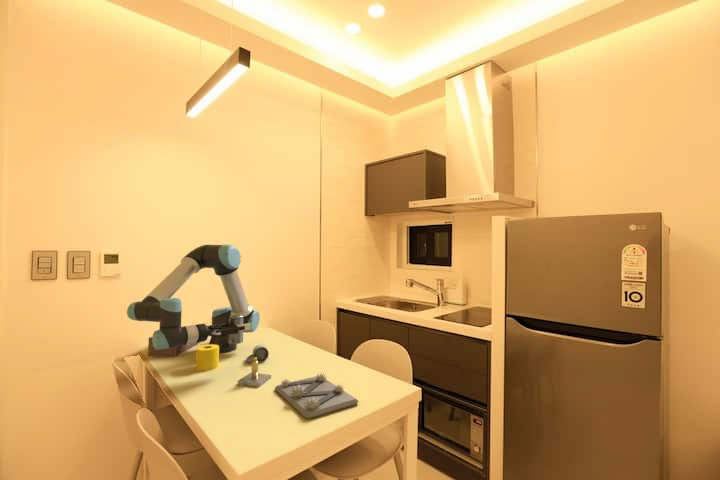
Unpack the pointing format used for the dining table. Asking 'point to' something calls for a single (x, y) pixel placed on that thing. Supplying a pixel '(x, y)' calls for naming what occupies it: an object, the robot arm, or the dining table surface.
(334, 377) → the dining table surface
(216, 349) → the tape roll
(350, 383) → the dining table surface
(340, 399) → the decorative plate
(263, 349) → the ceramic mug
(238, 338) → the trash can
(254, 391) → the dining table surface
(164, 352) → the tissue box cover
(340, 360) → the dining table surface
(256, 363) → the square metal stand
